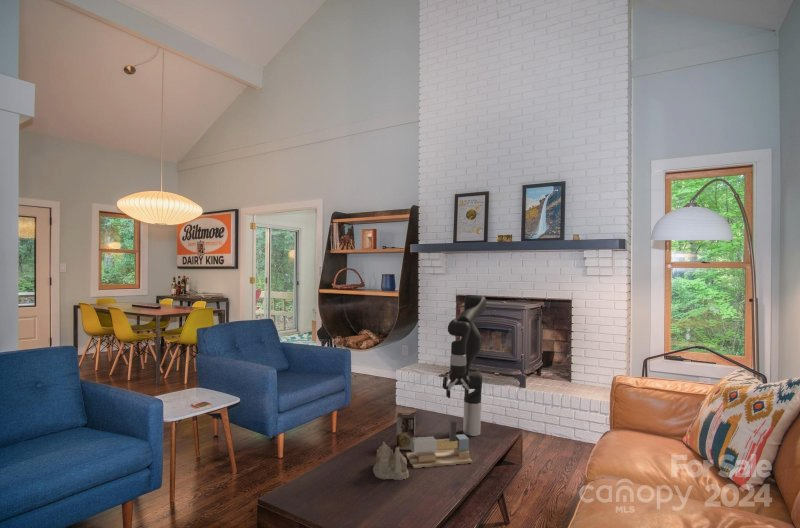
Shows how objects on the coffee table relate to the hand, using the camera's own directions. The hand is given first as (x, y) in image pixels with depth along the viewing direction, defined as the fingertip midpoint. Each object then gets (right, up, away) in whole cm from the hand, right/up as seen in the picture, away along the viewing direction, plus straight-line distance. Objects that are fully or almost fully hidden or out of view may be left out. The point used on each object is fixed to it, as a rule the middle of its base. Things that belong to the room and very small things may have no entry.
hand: (457, 397), depth 214 cm
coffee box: (-24, -28, +10) cm, 39 cm away
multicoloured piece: (-5, -23, -1) cm, 24 cm away
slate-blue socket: (+2, -27, 0) cm, 27 cm away
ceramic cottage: (-31, -28, -16) cm, 45 cm away
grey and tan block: (-16, -27, -4) cm, 32 cm away
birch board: (-9, -28, -2) cm, 30 cm away
